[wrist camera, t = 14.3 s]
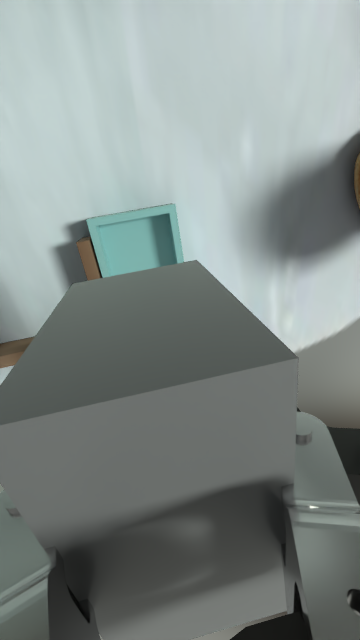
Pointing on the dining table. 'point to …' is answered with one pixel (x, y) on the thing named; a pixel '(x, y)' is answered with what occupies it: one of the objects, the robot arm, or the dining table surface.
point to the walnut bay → (13, 350)
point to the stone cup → (357, 179)
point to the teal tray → (136, 240)
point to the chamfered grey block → (156, 451)
